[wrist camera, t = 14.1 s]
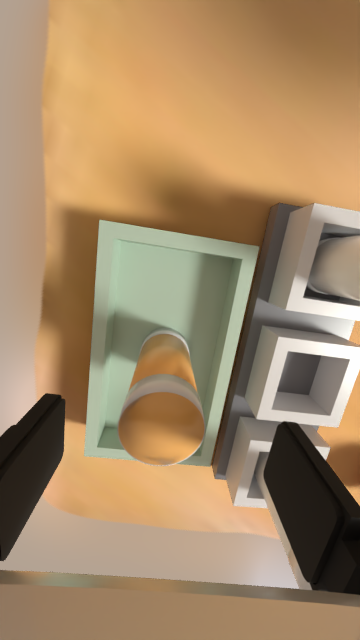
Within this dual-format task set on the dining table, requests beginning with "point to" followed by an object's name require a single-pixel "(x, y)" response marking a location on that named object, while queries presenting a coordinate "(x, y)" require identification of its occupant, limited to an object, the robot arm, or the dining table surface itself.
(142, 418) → the marked fuse
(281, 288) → the fuse holder
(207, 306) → the tray
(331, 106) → the dining table surface
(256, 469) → the cylinder
